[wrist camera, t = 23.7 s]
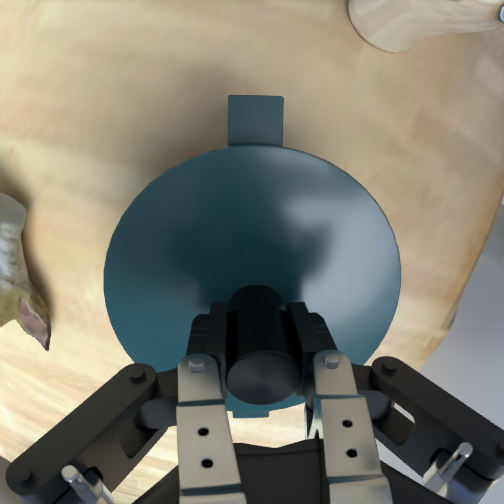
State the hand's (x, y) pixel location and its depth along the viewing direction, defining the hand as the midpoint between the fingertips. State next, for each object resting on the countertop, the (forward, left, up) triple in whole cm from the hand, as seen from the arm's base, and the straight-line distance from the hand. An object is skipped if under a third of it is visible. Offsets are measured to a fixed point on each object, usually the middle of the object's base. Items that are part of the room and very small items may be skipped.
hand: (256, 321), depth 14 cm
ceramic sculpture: (+21, +1, -10) cm, 23 cm away
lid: (0, 0, -2) cm, 2 cm away
